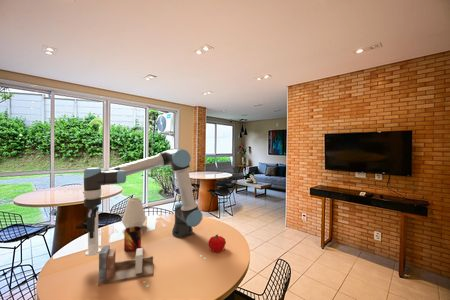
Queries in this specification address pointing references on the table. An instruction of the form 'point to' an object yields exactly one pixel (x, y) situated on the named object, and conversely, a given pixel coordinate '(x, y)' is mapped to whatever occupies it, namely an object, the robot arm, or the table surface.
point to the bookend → (139, 260)
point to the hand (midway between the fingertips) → (93, 241)
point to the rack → (120, 267)
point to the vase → (134, 213)
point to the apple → (217, 243)
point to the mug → (132, 239)
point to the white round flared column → (94, 248)
